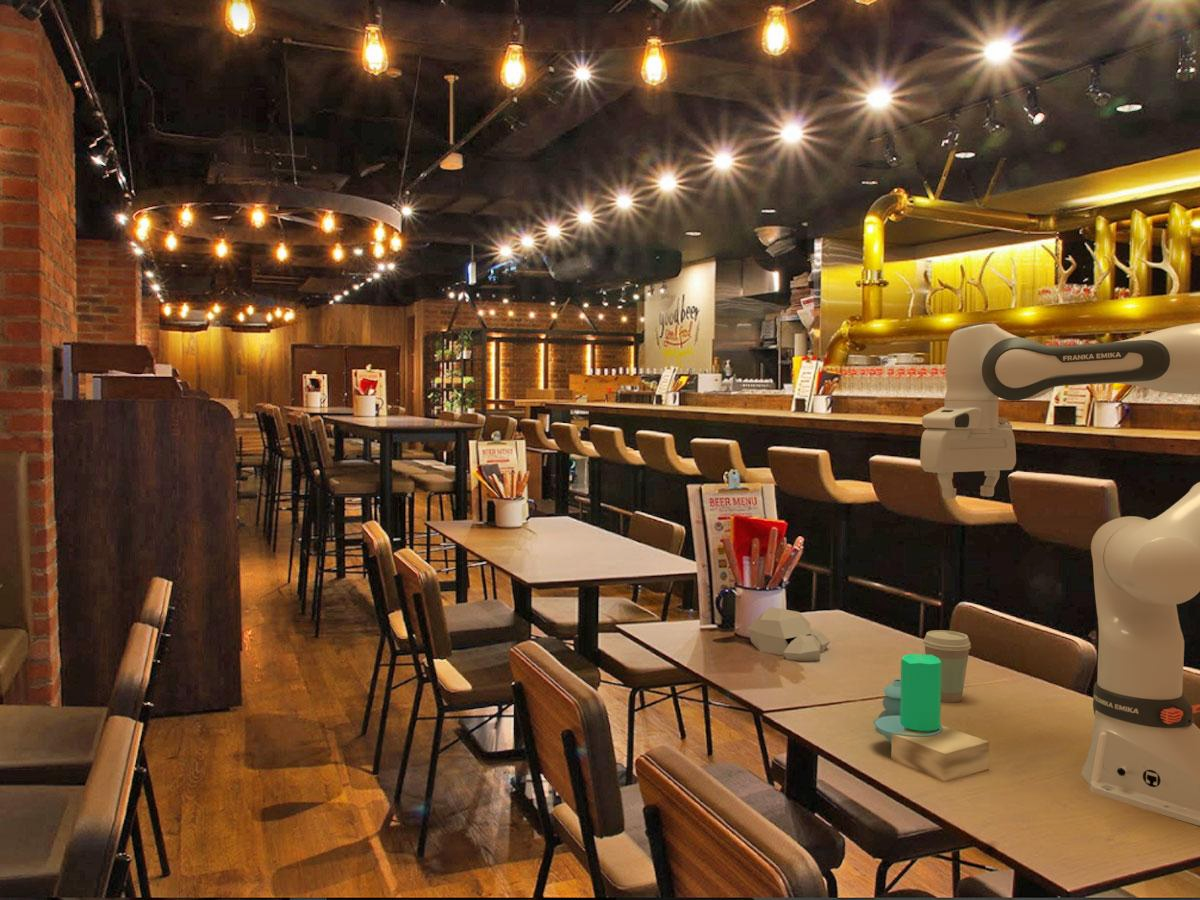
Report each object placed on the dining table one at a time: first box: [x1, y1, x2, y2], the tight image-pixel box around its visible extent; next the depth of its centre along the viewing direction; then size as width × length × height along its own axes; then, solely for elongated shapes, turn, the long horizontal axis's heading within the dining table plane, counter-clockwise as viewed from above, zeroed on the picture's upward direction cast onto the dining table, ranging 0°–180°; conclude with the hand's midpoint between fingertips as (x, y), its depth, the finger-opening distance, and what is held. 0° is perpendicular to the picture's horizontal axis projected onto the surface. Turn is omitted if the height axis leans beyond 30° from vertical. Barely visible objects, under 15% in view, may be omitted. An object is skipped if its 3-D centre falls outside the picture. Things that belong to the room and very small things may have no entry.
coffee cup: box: [922, 629, 972, 703], centre depth 187 cm, size 8×8×12 cm
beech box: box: [890, 724, 990, 782], centre depth 152 cm, size 10×10×5 cm
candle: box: [900, 648, 942, 731], centre depth 156 cm, size 6×6×12 cm
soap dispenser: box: [872, 678, 943, 745], centre depth 161 cm, size 18×10×9 cm, turn 173°
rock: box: [747, 606, 831, 662], centre depth 219 cm, size 18×20×10 cm
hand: (968, 497), depth 173 cm, fingers open, 8 cm apart
